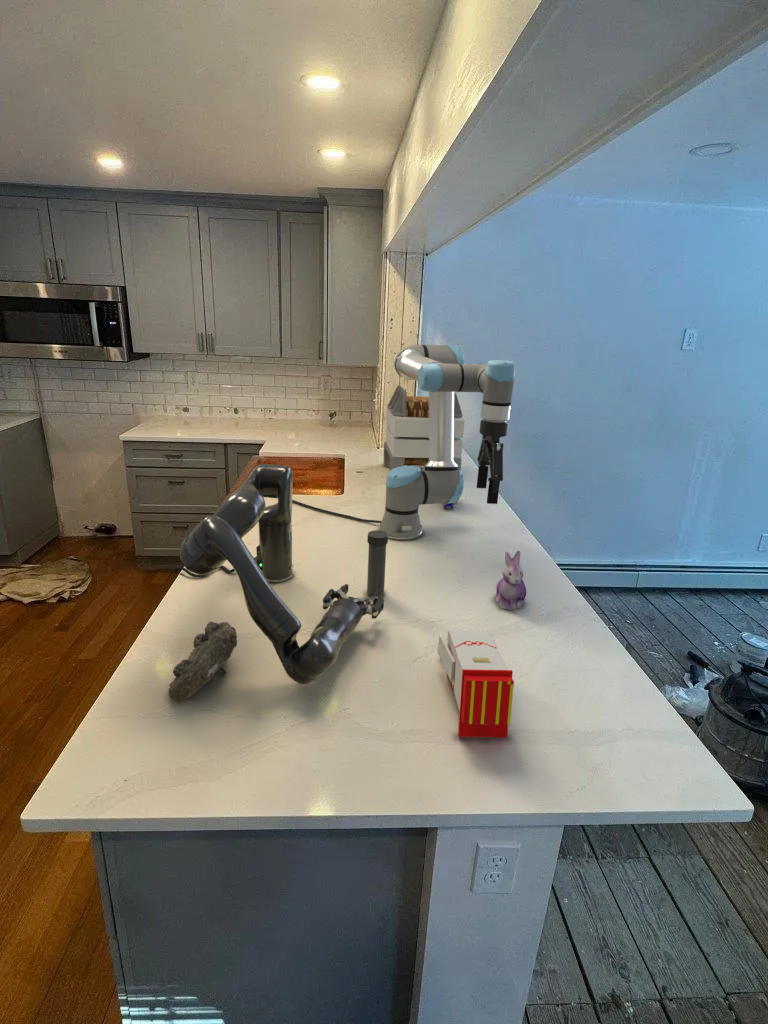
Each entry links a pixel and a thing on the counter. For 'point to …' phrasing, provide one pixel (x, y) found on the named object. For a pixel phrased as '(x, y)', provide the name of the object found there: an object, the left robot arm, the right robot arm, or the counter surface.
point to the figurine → (511, 584)
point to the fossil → (203, 659)
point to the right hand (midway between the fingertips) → (486, 495)
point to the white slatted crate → (414, 431)
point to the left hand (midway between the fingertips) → (362, 590)
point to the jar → (376, 569)
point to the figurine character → (450, 504)
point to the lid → (377, 538)
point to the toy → (478, 682)
